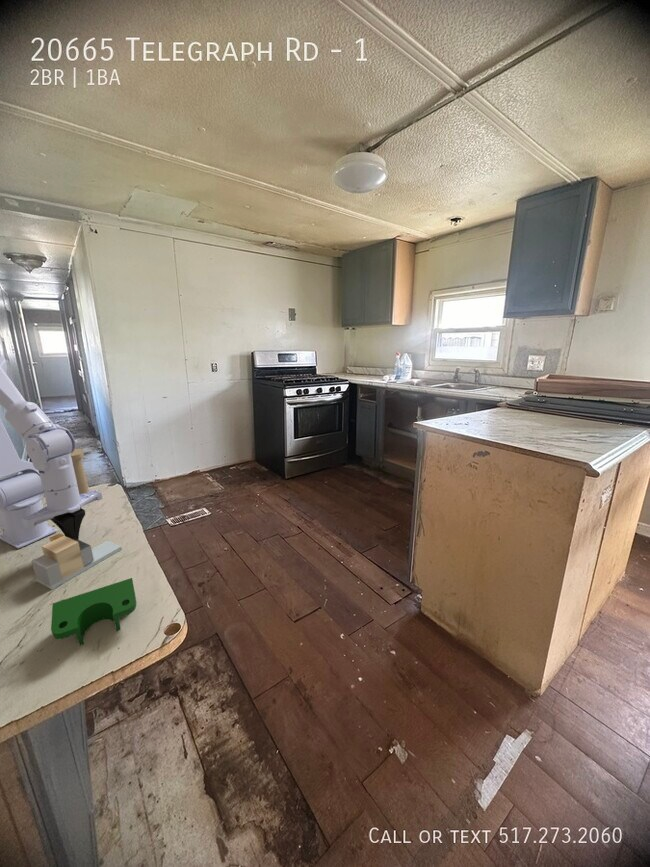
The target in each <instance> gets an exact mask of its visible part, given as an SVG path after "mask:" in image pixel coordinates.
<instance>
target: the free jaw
mask: <svg viewBox="0 0 650 867" xmlns="http://www.w3.org/2000/svg"><path fill="white" fill-rule="evenodd" d="M62 536H65V535H64V533H60V532H59V533H57V534H55V535H53V536H50V537H49V543H50V542H52V541H54V540H56V539H58V538H60V537H62ZM66 537H67V536H66ZM68 538H69V537H68ZM70 539H71V538H70ZM72 540H74V539H72ZM75 541H77V542H78V543H79V547H80V551H81V556H82V560H83V564H84V566H85V565H87V564H89V563H91V562H92V561H94V558H93V554H92V545H90V544H88V543H86V542H84V541H82V540H80V539H79V540H78V539H75Z"/></svg>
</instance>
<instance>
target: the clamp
mask: <svg viewBox="0 0 650 867" xmlns="http://www.w3.org/2000/svg"><path fill="white" fill-rule="evenodd" d="M134 586H135V585H134V581H133V577H130V578H127V579H123V580H121V581H118V582H114V583H111V584H109V585H105V586H102V587H99V588H96V589H93V590H90V591H87V592H84V593H81V594H77V595H75V596H71V597H68V598H66V599H62V600H59V601H55V602H53V603H52V608H51V622H50V623H51V624H50V631H51V633H52V636H53V638H54V639H55V640H64V639H66V638H70V637H72V636H74V635H75V636H76V639H77V642H78V644H79V646H82V645H85V644H84V636H85V634H86V633H87V631H88V630H89V629H90V627H92V626H93V625H95V624H97V623H98V622H100V621H104V620H110V621H112V622H114V627H115V630H116V632H118V631H120V630H121V622H120V621H121V620H120V619H121V618H123V617H125V616H128V615H130V614H132V613H133V612H135V609H136V608H137V598H136V591H135V587H134Z"/></svg>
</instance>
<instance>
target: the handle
mask: <svg viewBox="0 0 650 867" xmlns="http://www.w3.org/2000/svg"><path fill="white" fill-rule="evenodd" d="M70 454H71V458H72V463H73V467H74V472H75V476H76V481H77V486H78V490H79V495H81V494H85V493H88V492H90V491H89V485H88V484H89V483H88V480H87V476H86V472H85V469H84V466H83V462H82V458H84V456H85V455H84V454H85V453H84V450H83V449H82V448H81V449H80V448H75V450H74V452H72V453H70Z"/></svg>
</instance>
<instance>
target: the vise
mask: <svg viewBox="0 0 650 867" xmlns="http://www.w3.org/2000/svg"><path fill="white" fill-rule="evenodd" d="M91 549H92V554H93V558H94V561H92V562H91V563H89V564H87V565H85V566H84V568H82V569H80V570H79V571H77V572H75V573H73V574H72V575H70V576H68V577H66V578H65V579H62V576H61V572H60V568H59V564H58V562H56V561H54V560H52V559H50V558H49V557H47V556H45V555H44V554H43V555H41V556H39V557H37V558H35V559H33V560H31V563H32V567H33V571H34V574H35V577H36V580H37V582H38V583H39V584H41V585H43V586H44V587H46V588H47V589H49V590H54V589H56V588H57V587H59V586H61V585H63V584H64V583H66V582H68V581H69V580H72V579H73V578H75V577H77V576H78V575H80V574H82V573H83V572H85V571H87V570H88V569H91V568H92V567H94V566H96V565H97V564H99V563H101V562H102V561H104V560H106V559H108V558H110V557H111V556H113V555H116V553H117V554H118V553H119V552H120V551H121V550H122V549H123V548H122V546H121V545H119V544H116V543H114V542H113V541H109V540H105V541H104V542H102V543H100V544H99V545H98V544H97V545H96V546H94V547H93V548H92V547H91Z"/></svg>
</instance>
